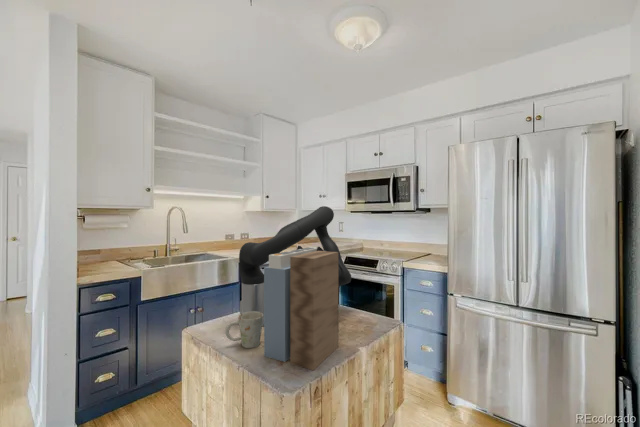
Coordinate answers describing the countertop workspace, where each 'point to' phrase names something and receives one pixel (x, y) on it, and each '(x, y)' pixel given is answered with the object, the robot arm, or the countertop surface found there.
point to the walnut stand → (313, 308)
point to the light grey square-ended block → (287, 257)
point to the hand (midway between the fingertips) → (307, 248)
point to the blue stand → (277, 313)
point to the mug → (248, 329)
